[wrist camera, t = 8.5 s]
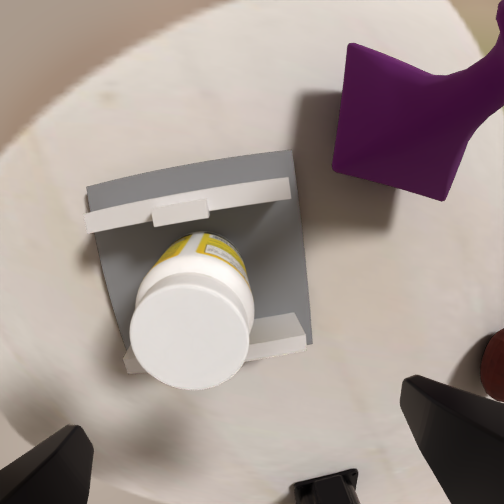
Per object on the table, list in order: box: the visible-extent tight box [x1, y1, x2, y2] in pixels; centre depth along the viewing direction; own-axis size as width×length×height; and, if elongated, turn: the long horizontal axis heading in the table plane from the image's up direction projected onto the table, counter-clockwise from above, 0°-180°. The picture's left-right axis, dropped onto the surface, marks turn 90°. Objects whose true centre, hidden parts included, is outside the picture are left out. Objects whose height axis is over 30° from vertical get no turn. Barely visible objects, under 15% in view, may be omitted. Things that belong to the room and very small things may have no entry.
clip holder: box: [83, 150, 313, 374], centre depth 16 cm, size 12×12×5 cm
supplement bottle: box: [129, 231, 254, 390], centre depth 14 cm, size 5×5×8 cm
